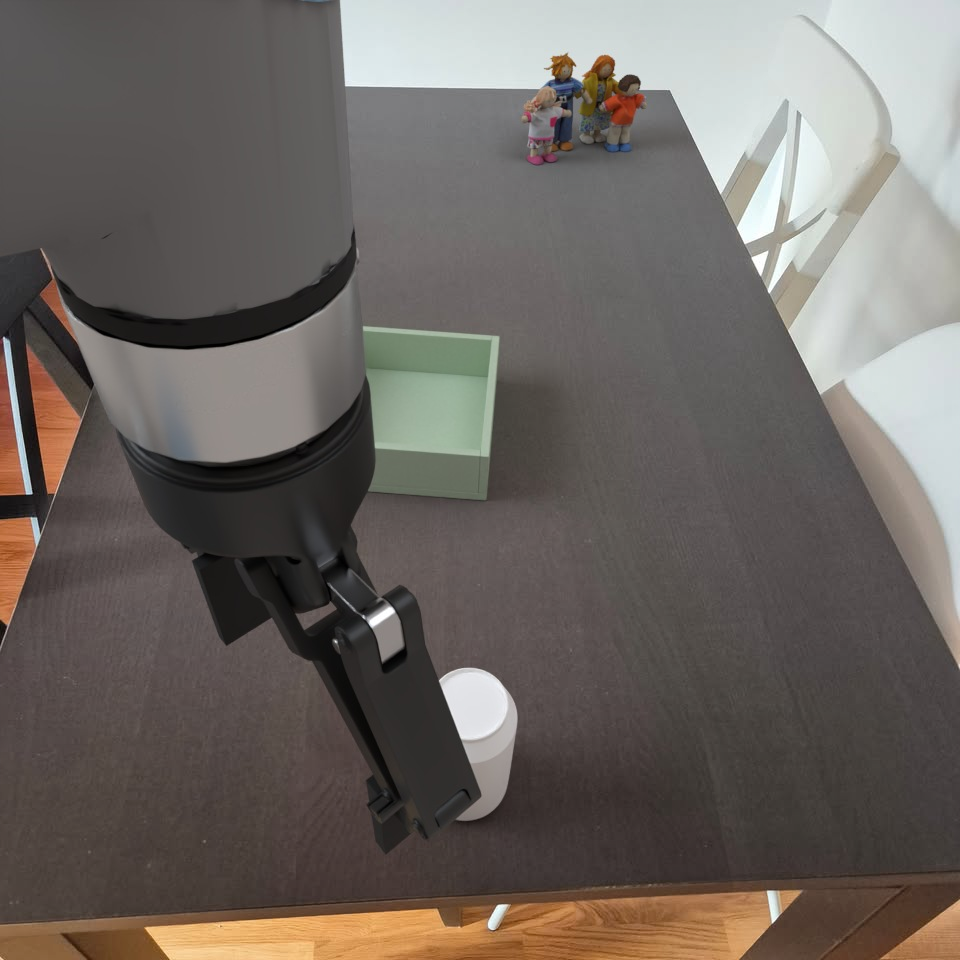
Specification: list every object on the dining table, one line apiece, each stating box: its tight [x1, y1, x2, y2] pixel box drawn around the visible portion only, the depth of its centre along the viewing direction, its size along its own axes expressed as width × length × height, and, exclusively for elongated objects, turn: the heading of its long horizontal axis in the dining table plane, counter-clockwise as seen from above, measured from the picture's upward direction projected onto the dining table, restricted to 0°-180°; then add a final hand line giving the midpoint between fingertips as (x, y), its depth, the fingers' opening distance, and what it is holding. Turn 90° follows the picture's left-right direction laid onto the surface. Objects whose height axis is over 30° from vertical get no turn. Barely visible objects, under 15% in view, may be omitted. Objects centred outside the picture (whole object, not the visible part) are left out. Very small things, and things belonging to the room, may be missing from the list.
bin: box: [363, 325, 501, 501], centre depth 83 cm, size 18×18×6 cm
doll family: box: [520, 52, 648, 166], centre depth 124 cm, size 21×10×13 cm, turn 113°
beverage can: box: [438, 667, 518, 822], centre depth 56 cm, size 6×6×12 cm
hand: (318, 719), depth 40 cm, fingers open, 13 cm apart
